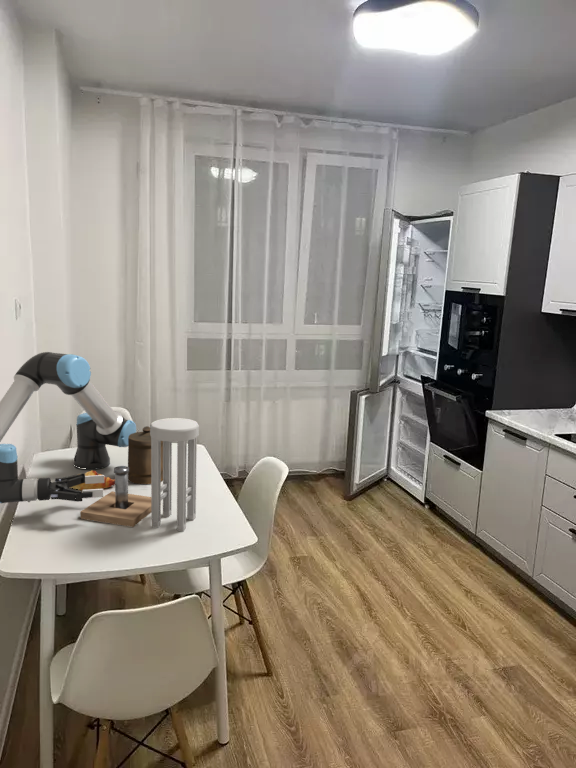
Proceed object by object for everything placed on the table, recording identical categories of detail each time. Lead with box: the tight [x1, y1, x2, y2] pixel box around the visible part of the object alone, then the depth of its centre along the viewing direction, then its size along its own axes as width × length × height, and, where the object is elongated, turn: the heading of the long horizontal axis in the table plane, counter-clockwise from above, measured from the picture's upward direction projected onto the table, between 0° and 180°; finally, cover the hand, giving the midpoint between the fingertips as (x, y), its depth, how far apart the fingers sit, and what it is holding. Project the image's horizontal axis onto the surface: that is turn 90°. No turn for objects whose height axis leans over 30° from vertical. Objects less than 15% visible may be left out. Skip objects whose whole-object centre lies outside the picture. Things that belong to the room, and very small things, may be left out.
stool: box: [149, 417, 200, 532], centre depth 193 cm, size 16×16×35 cm
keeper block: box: [79, 490, 151, 528], centre depth 203 cm, size 20×20×2 cm
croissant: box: [70, 470, 115, 491], centre depth 224 cm, size 21×10×8 cm, turn 93°
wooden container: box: [127, 425, 163, 485], centre depth 234 cm, size 15×15×22 cm
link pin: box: [113, 465, 129, 509], centre depth 201 cm, size 5×5×16 cm
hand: (103, 485), depth 199 cm, fingers open, 13 cm apart
